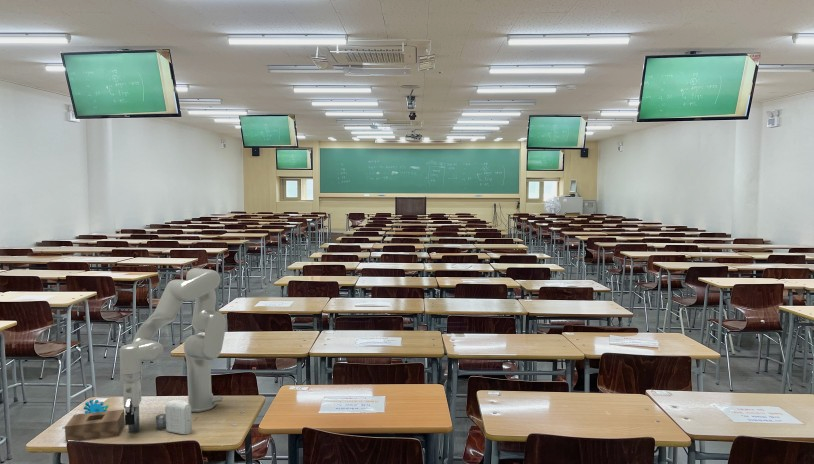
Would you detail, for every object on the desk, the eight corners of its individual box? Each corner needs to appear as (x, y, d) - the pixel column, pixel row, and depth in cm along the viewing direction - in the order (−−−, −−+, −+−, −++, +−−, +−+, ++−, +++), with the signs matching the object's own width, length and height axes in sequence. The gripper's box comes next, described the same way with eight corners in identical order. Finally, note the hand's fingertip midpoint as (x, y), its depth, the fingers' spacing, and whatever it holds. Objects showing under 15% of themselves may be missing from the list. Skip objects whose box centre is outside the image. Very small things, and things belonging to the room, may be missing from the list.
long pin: (140, 428, 226) (139, 403, 225) (138, 432, 222) (137, 407, 221) (129, 429, 225) (128, 404, 224) (127, 433, 221) (126, 408, 220)
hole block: (124, 423, 231) (124, 409, 230) (118, 435, 219) (117, 420, 219) (74, 429, 226) (74, 414, 225) (65, 442, 214) (64, 426, 214)
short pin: (168, 425, 228) (167, 413, 228) (166, 429, 225) (166, 416, 224) (157, 426, 227) (156, 414, 227) (155, 430, 223) (155, 418, 223)
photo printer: (193, 431, 222) (192, 400, 221) (185, 435, 218) (184, 403, 217) (173, 427, 226) (171, 397, 225) (164, 432, 222) (163, 400, 221)
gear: (92, 421, 230) (81, 401, 233) (84, 430, 231) (73, 410, 235) (115, 415, 240) (104, 395, 243) (107, 423, 241) (97, 404, 245)
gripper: (137, 382, 214) (138, 427, 215) (145, 369, 231) (146, 411, 232) (115, 384, 212) (116, 429, 213) (125, 371, 229) (126, 413, 230)
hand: (132, 420), depth 223 cm, fingers open, 9 cm apart
